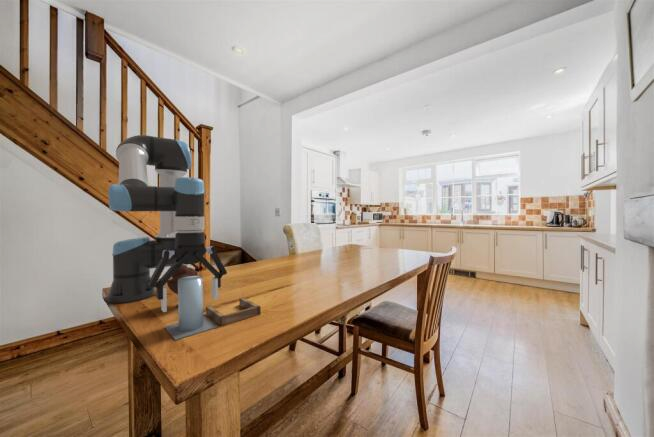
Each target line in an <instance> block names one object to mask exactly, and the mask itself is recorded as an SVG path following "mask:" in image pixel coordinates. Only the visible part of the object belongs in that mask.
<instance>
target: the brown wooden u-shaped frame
mask: <svg viewBox="0 0 654 437" xmlns="http://www.w3.org/2000/svg"><path fill="white" fill-rule="evenodd" d="M238 304H239V306H240V307H242V308H244V309H241V310H238V311H235V312H231V313H227V314H222V312H220V311H218V310H217V309H215V308H214V307H212V306H211V305H207V306H205V314H206V316H208V317H209V318H211V319H212V320H213V321H214V322H216V323H217V324H218V325H219V326H221V327H223V326H226V325H230V324H232V323H236V322H240V321H243V320H245V319H249V318H252V317H255V316H257V315H258V316H260V315H261V312H262V311H261V305H258V304H257V303H254V302H252V301H251V300H249V299H246V298H244V297H239V302H238Z"/></svg>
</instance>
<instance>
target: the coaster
mask: <svg viewBox="0 0 654 437" xmlns="http://www.w3.org/2000/svg"><path fill="white" fill-rule="evenodd" d="M216 328H219V326H218V325H217V324H216V323H215V322H213V321H212V320H211V319H209V318H208V317H207V315H206V316H205V315H203V326H202V327H200V328H198V329H196V330H192V331H180V330H179V323H178V322H176V323H172V324H167V325H165V326H164V329H166V331H167V332H168V333H169V334H170V336H171V337H172V338H173V339H174V341H179V340H181V339H184V338H188V337H190V336H191V337H192V336H195V335H197V334H198V335H199V334H200V333H203V332H208V331H211V330H213V329H216Z"/></svg>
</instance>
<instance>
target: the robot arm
mask: <svg viewBox="0 0 654 437" xmlns="http://www.w3.org/2000/svg"><path fill="white" fill-rule="evenodd" d="M115 157H116V159H117V161H118V182H117V183H115V184H114V183H113V184H110V185H109V186H108V193H107V194H108V207H109V210H111V211H112V212H113V211H115V212H126V213H129V212H159V232H158V233H156V235H155V239H154V240H151V239H150V237H148V236H146V237H145V236H143V237H135V238H130V239H129V238H128V239H124V240H119V241H116V242H115V243H114V244H113V246H112V253H111V254H112V258H113V260H112V266H113V267H112V274H113V276H112V279H113V280H112V283H111V285H110V287H109V290H108V293H107V302H109V303H115V304H117V303H118V304H119V303H127V302H128V303H129V302H136V301H140V300H144V299H148V298H150V297H152V296H154V295H155V294H156V298H157V300H158V301H160V304H161V306H160V307H161V308H160V310H161V311H162V312H163V313H167V312H168V308H167V307H168V306H167V305H168V300H167V299H168V298H167V296H168V295H167V294H168V292H167V287H166V286H165V285H167V281H168V280H170V279H172V275H173V274H174V273H175V272H176V271H177V269H178V268H179V267H181V265H186V266H188V265H190V264H198V263H200V264H202V265H203V266H204V267H205V268H206V269H207V270H208V271H209V272H210V273H211V274H212V275H213V277H211V293H212V294H211V299H213V300H215V301H217V300H219V289H220V288H221V287H222V277H223V276H226V275H227V274H228V272H227V270H226V268H225V266H224V264H223V262H222V260H221V259H220V257H219V254H218V252H217V247H216V246H214V245H210V246H209V247H208V246H207V247H206V245H205V243H206V240H205V239H206V236H205V235H206V234H205V231H204V230H205V228H206V226H205V225H206V224H205V192H206V190H205V183H204V180H203V179H201V178H198V177H185V176H186V175H187V173H188V170H190V169H191V168H192V154H191V149H190V146H189V144H188V143H187V142H186V141H182V140H178V139H176V138H175V139H172V138H167V137H166V138H165V137H158V136H153V135H145V134H139V135H133V136H130V137H128V138H125V139H123V141H121V142H120V143H119V144H118V145H117V147H116V150H115ZM147 166H153V167H154V170H155V172H156V173H157V174H158V175H159V186H153V185H149V178H148V170H147V169H148V168H147ZM206 253H208V254H209V255H210V257H211V258H212V260H213V263H214V264H215V266H216V267H217V269H218V270H217V269H216V267H214V266H213V265H212V264H211V263H210V262H209V261H208V259H207V258H205V257H204V256H205V254H206ZM167 267H169V268H168V269H167V270H166V272H164V269H165V268H167ZM152 269H155V270H154V271H153V273H152V275H151V273H150V272H151V271H150V270H152ZM163 272H164V274H163ZM161 275H162V276H161ZM160 277H161V278H160Z"/></svg>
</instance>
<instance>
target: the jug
mask: <svg viewBox="0 0 654 437" xmlns="http://www.w3.org/2000/svg"><path fill="white" fill-rule="evenodd" d="M203 280H204V279H203V276H200V275H198V276H188V277H183V278H180V279H178V294H177V304H178V308H177V310H178V311H177V313H178V317H177V318H178V321H177V323H179V330H180V331H192V330H196V329H198V328H200V327H202V326H203V316H204V292H203V291H204V286H203V283H204V281H203Z"/></svg>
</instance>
